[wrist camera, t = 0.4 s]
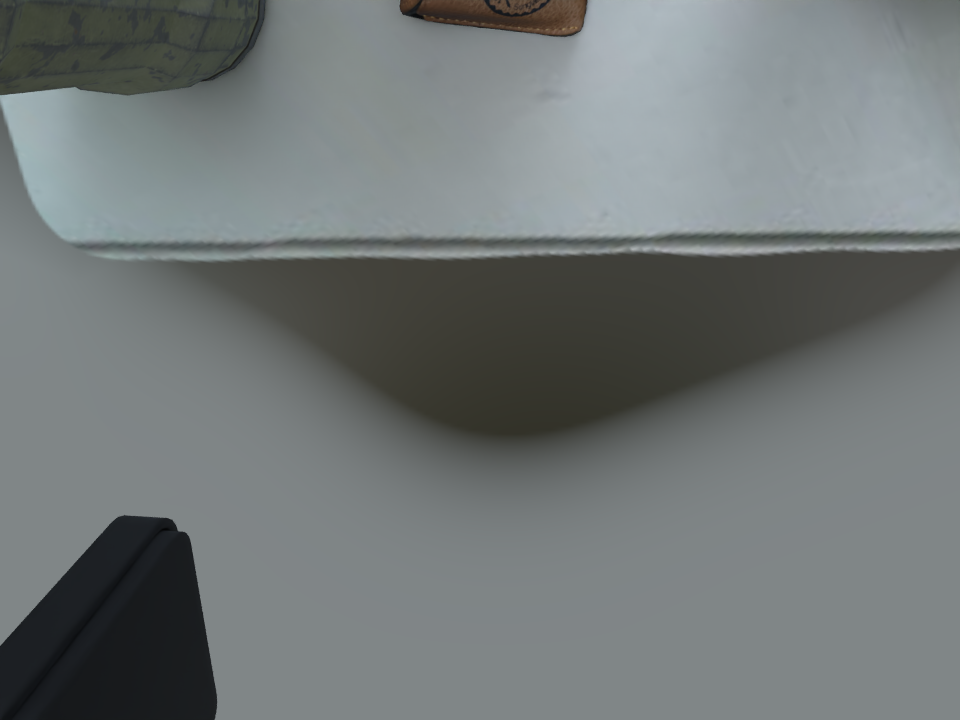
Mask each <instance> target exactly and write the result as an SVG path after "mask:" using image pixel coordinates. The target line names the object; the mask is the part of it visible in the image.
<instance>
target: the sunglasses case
mask: <svg viewBox="0 0 960 720" xmlns="http://www.w3.org/2000/svg"><path fill="white" fill-rule="evenodd" d="M586 5H587V0H400V10H401V12H402V14H403V15H407V16H411V17H415V18H419V19H424V20H426V21H432V22H438V23H444V24H453V25H463V26H472V27H478V28H490V29H500V30H506V31H516V32H526V33H536V34H542V35H549V36H560V37H566V36H572V35H574V34H576V33H578V32H580V31H581V29H582V27H583V23H584V17H585V13H586Z"/></svg>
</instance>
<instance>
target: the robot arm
mask: <svg viewBox="0 0 960 720" xmlns="http://www.w3.org/2000/svg"><path fill="white" fill-rule="evenodd" d="M216 709H217V694H216V688H215V683H214V677H213V671H212V665H211V659H210V653H209V647H208V642H207V635H206V629H205V624H204V618H203V612H202V606H201V600H200V594H199V588H198V582H197V576H196V571H195V565H194V559H193V553H192V547H191V542H190V538H189V536H188V535H187V533H185V532H179V531H178V530H177V527H176V525H175V523H174V522H173V520H171V519H168V518H156V517H141V516H125V515H124V516H120V517H118V518H116V519H115V520H114V521H113V522H112V523H111V524H110V525H109V526H108V527H107V528H106V529H105V530H104V532H103V533H102V534H101V535H100V536H99V537H98V538H97V539H96V540H95V541H94V543H93V544H92V545H91V546H90V547H89V548H88V549H87V550H86V551H85V553H84V554H83V555H82V556H81V557H80V558H79V559H78V560H77V561H76V562H75V564H74V565H73V566H72V567H71V568H70V569H69V571H67V573H66V574H65V575H64V576H63V577H62V578H61V579H60V580H59V581H58V583H57V584H56V585H55V586H54V587H53V588H52V589H51V590H50V591H49V593H48V594H47V595H46V596H45V597H44V598H43V599H42V600H41V601H40V602H39V604H38V605H37V606H36V607H35V608H34V609H33V610H32V611H31V613H30V614H29V615H28V616H27V617H26V618H25V619H24V620H23V621H22V622H21V624H20V625H19V626H18V627H17V628H16V629H15V630H14V631H13V632H12V634H11V635H10V636H9V637H8V638H7V639H6V640H5V641H4V643H3V644H2V645H1V646H0V720H214V719H215V715H216Z"/></svg>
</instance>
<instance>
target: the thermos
mask: <svg viewBox="0 0 960 720" xmlns="http://www.w3.org/2000/svg"><path fill="white" fill-rule="evenodd" d="M264 11H265V0H0V95H7V94H16V93H25V92H34V91H43V90H52V89H61V88H70V87H76V88H78V89H80V90H87V91H95V92H104V93H112V94H121V95H134V94H142V93H150V92H158V91H165V90H172V89H179V88H186V87H190V86H192V85H194V84H196V83H198V82H201V81H209V80H213V79H215V78H217V77H219V76H221V75H222V74H224V73H226V72H228V71H230V70H232V69H234V68H235V67H236V66H237V65H238V64H239V63H240V61H241V60H242V59H243V58H244V57H245V56H246V55H247V53H248V52H249V51H250V50H251V49H252V48H253V46H254V43H255V41H256V38H257V36H258V33H259V31H260V28H261V25H262V23H263V20H264Z"/></svg>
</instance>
